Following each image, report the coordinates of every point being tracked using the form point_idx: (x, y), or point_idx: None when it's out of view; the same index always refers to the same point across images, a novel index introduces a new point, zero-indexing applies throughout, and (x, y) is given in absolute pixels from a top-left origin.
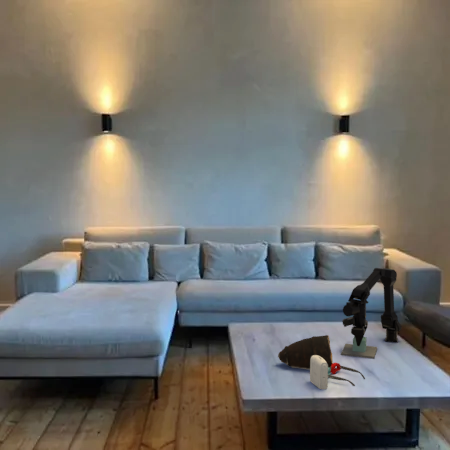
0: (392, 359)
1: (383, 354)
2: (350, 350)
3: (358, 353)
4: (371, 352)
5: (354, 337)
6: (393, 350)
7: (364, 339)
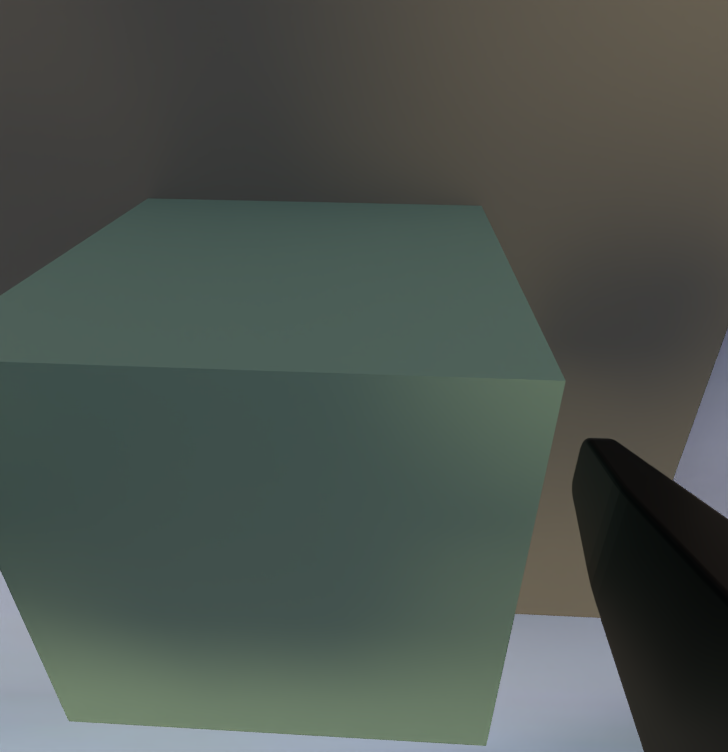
0: None
1: None
2: (169, 129)
3: None
4: None
5: (289, 404)
6: (568, 738)
7: (191, 706)
